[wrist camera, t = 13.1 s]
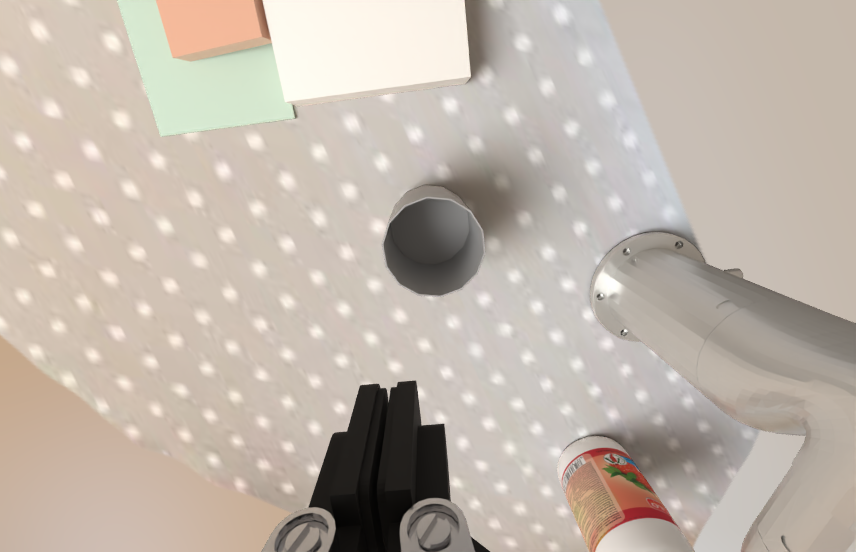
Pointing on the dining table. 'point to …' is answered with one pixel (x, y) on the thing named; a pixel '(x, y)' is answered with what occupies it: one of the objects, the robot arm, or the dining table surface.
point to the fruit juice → (615, 500)
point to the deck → (366, 47)
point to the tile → (212, 26)
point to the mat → (202, 80)
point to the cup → (433, 242)
